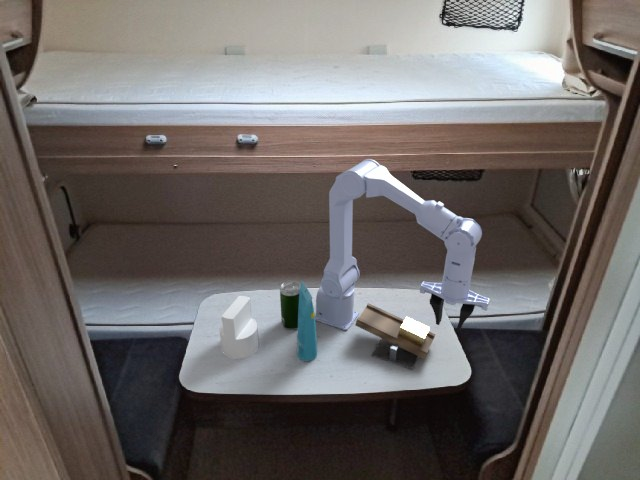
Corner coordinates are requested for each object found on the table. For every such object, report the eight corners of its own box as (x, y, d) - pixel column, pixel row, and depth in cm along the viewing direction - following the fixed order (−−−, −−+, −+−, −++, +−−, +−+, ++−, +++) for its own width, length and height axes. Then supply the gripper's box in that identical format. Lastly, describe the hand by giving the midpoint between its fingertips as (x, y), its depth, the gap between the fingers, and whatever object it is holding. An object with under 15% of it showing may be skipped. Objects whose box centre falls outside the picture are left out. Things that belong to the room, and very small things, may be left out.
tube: (322, 361, 111) (322, 294, 102) (304, 367, 109) (302, 300, 100) (309, 342, 117) (308, 277, 108) (291, 347, 115) (289, 282, 106)
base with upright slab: (233, 330, 121) (228, 292, 115) (265, 338, 118) (262, 299, 112) (215, 353, 113) (209, 314, 108) (248, 362, 111) (244, 322, 105)
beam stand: (371, 356, 113) (372, 343, 111) (390, 324, 123) (391, 313, 121) (412, 369, 109) (413, 357, 107) (427, 336, 119) (429, 324, 117)
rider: (397, 336, 112) (400, 327, 110) (403, 325, 115) (406, 316, 114) (421, 347, 110) (424, 338, 108) (426, 336, 114) (429, 327, 112)
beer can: (288, 333, 120) (286, 295, 114) (277, 322, 124) (275, 284, 118) (306, 326, 122) (305, 288, 117) (295, 315, 126) (294, 278, 120)
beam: (353, 328, 115) (355, 320, 113) (366, 309, 121) (369, 301, 120) (423, 362, 109) (426, 354, 108) (432, 340, 116) (436, 333, 114)
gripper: (418, 275, 100) (412, 326, 106) (489, 293, 94) (478, 346, 100) (427, 260, 105) (421, 308, 112) (495, 276, 99) (484, 327, 106)
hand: (448, 325), depth 106 cm, fingers open, 4 cm apart
